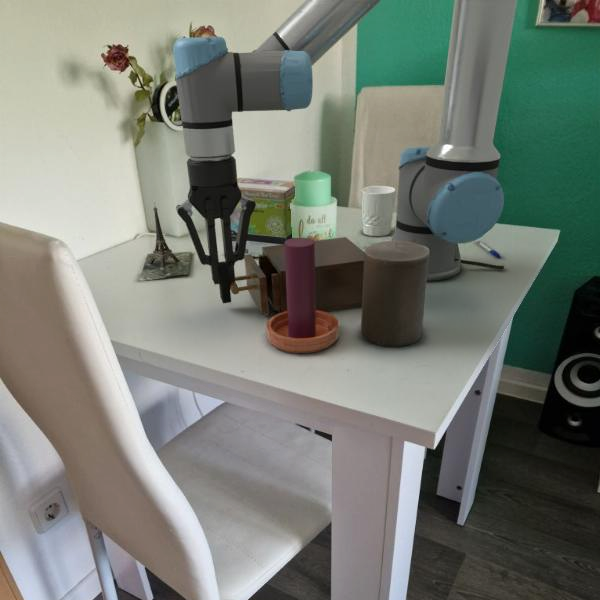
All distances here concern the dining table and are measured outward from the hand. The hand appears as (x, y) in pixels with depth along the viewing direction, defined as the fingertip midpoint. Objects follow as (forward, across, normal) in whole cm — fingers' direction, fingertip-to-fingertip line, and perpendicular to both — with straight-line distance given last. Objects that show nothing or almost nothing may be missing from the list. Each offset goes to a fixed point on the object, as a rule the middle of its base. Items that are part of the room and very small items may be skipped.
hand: (225, 299), depth 98 cm
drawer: (+1, -11, 0) cm, 11 cm away
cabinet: (+2, -17, 0) cm, 17 cm away
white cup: (+2, -43, -33) cm, 54 cm away
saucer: (+2, -10, +15) cm, 18 cm away
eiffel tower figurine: (+2, +8, -27) cm, 28 cm away
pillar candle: (+2, -24, +18) cm, 30 cm away
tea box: (+2, -14, -29) cm, 32 cm away
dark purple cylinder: (+1, -10, +15) cm, 18 cm away
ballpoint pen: (+2, -60, -12) cm, 61 cm away
